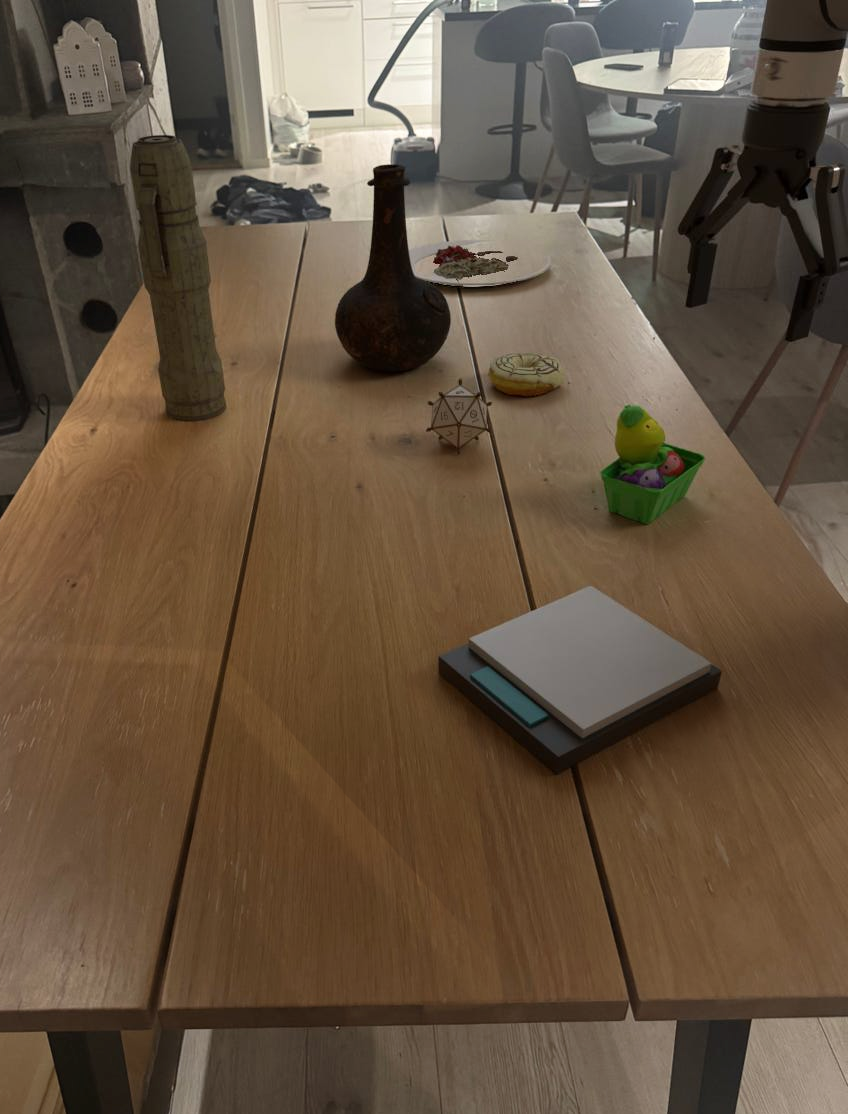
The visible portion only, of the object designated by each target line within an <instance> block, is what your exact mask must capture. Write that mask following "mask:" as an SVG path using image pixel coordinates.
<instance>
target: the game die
mask: <svg viewBox="0 0 848 1114" xmlns="http://www.w3.org/2000/svg"><path fill="white" fill-rule="evenodd" d="M457 383H458V385H457V386H455V387H454V388H452V389H450V390H449V391H448V392H446V393H444V392H443V391H438V396H439V398H438V399H437V400H435V401H434V402H433V401H431V400H429V401H427V405H428V406H432V407H431V422H430V427H426V430H425V432H428V433H429V432H431V431H433V432H434V433H436V434H437V435H438V441H440V440H443V439H444V440H445V441H446V442H448V443H449V444H450V445H452V446H453V447H455V448H456V450H455V453H456V455H457V456H459V455H460V454H461V448H463V447H464V446H465V445H467V444H468V443H470V442H471V441H473V440H475V441H479V440H480V437H479V436H480V435H481V434H483V433H484V432H487V433H488V434H489V433H493V430H492V428H490V427H488V407H492V404H493V401H488V402H487V403H486V402H485V401H484V400H483V399H482V398H481V396H482V392H481V391H478V392H477V393H474V392H473V391H472V390H469V388H467V387H465V386H464V385H463V379H462V378H461V377H459V379H458V382H457Z"/></svg>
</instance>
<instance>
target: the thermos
mask: <svg viewBox="0 0 848 1114" xmlns="http://www.w3.org/2000/svg"><path fill="white" fill-rule="evenodd" d="M129 162H130V163H129V169H130V170H129V171H130V177H131V183H132V190H133V195H134V201H135V202H134V203H135V207H136V210H137V211H138V216H139V219H138V226H139V234H138V241H137V243H138V244H137V249H138V254H139V261H140V267H141V273H142V278H143V285H144V288H145V290H146V291H147V293H148V295H149V300H150V306H151V312H152V316H153V317H152V318H153V323H154V329H155V330H154V331H155V335H156V342H157V347H158V354H159V364H158V369H157V371H158V377H159V383H160V389H161V395H162V397H163V399H164V404H165V413H166V415H167V414H168V415H167V416H168V417H169V416H170V417H169V418H171V417H172V418H171V419H173V418H174V419H173V420H176V419H180V420H179V421H182V420H198V421H203V420H202V419H205V420H208V418H209V419H212V418H215V417H217V416H219V415H221V414H222V413H223V411H224V412H225V410H226V409H227V402H226V399H225V391H226V385H225V377H224V370H223V362H222V359H221V357H220V355H219V352H218V351H217V346H216V337H215V330H214V322H213V314H212V313H213V312H212V306H211V299H210V292H209V289H210V287H211V286H210V285H211V282H212V279H211V271H210V262H209V254H208V246H207V239H206V237H205V235H204V233H203V231H202V228H201V225H200V222H199V221H200V220H199V215H198V214H197V210H196V206H197V197H196V189H195V183H194V175H193V167H192V162H191V159H190V156H189V154H188V151H187V150H186V147H185V145H184V143H183V141H182V139H180V138H176V135H170V134H156V135H155V134H154V135H145V136H142V137H139V138H137V140H136V141H134V142H132V147H131V154H130V161H129ZM225 408H226V409H225Z"/></svg>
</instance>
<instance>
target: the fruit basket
mask: <svg viewBox="0 0 848 1114" xmlns="http://www.w3.org/2000/svg"><path fill="white" fill-rule="evenodd" d="M616 420H617V421H616V433H615V437H614V448H615V451H616V453H617V455H618V458H617V459H616V460H614V461H613V462H611V463H610V464H609V465H607V466H606V467H604V468H603V469H602V470H600V476H601V481H602V482H603V486H604V492H605V498H606V503H607V508H608V511H609V512H611V513H613V514H618V515H620V516H622V517H625V518H628V519H630V520H633V521H637V522H641V523H642V524H644V525H649V524H650V523H652V522H653V521H655V519H656V518H657V517H659V516H661V515H662V514H663V513H665V512H666V511H667V509H670V508H671V507H673V506H674V505H675V504H677V502H678V501H680V500H682V499H683V498H684V497H686V495H687V493H688V491H689V488H690V487H691V485H692V483H693V481H694V479H695V477H696V475H697V473H698V471H699V469H700V468H701V467H702V465H703V464H704V462H705V460H706V456H705V455H703V454H702V453H699V452H695V451H693V450H690V449H689V450H688V449H686V448H683V447H679V446H675V445H672V444H669V443H665V441H666V433H665V431H664V429H663V427H662V426H661V425H660V424H659V422H658V421H657V420H656V419H654V417H652V416H651V415H650V414H649V413H648V411H646V410H645V409H644V408H642V407H641V406H639V405H631V404H627V405H624V409H622V410H621V411H620V413H619V415H618V417H617V419H616Z"/></svg>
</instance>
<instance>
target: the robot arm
mask: <svg viewBox="0 0 848 1114" xmlns="http://www.w3.org/2000/svg"><path fill="white" fill-rule="evenodd" d="M847 39H848V0H766V3H765V9H764V14H763V20H762V26H761V32H760V38H759V45H758V49H757V53H756V54H757V55H756V59H755V60H756V61H755V66H754V70H753V75H752V81H751V86H750V92H749V93H750V94H751V96H752V97H754V98H755V99H754V100H752V101H751V102H750V103H749V104H748V105H747V107H746V110H745V111H746V112H745V117H744V118H745V119H744V123H743V128H742V133H741V142H742V144H743V149H742V150H741V148H740V146H739V145H738V144H731V145H726V146H721V147H718V148H716V149H715V152H714V155H713V158H712V162H711V165H710V166H711V167H710V170H709V172H708V174H706V177H705V179H704V180H703V182H702V184H701V185H700V188H699V189H698V191H697V193H696V195H695V197H694V198H693V200H692V202H691V203H690V205H689V207H688V209H687V210H686V212H685V213H684V216H683V218H682V219H681V221H680V223H679V225H678V226H677V233H678V234H679V235H680V236H685V237H686V238H687V239H688V242H689V244H690V250H689V254H688V261H687V267H686V269H687V270H686V271H687V274H690V275H689V282H688V288H687V293H686V299H685V306H684V307H686V308H689V309H692V308H693V309H694V308H696V307H699V306H703V305H706V304H708V299H709V295H710V290H711V289H710V288H711V284H712V279H713V271H714V267H715V261H716V255H717V250H718V243H715V242H711V241H715V240H716V239H717V237H716V236H717V235H718V233H720V232H721V231H722V230H723V229H724V228H725V226H727V224H729V222H730V221H732V219H733V218H735V216H737V214H738V213H739V212H740V211H741V210H743V208H744V207H745V206H746V205H747V203H749V204H754V205H756V204H763V205H764V206H766V207H768V208H772V209H778V208H779V211H780V213H781V215H782V216H783V217H785V218H786V219H787V222H788V225H789V227H790V229H791V232H792V235H793V237H794V240H795V243H796V245H797V248H798V250H799V253H800V255H801V258H802V260H803V264H804V266H805V269H806V271H807V273H805V274H802V275H799V278H798V283H797V287H796V291H795V295H794V300H793V303H792V308H791V311H790V316H789V321H788V325H787V329H786V333H785V337H784V341H786V342H789V343H792V342H796V341H799V340H802V339H805V338H808V337H809V335H810V331H811V326H812V322H813V318H814V314H815V310H818V309H821V307H822V306H823V304H824V301H825V297H826V293H827V289H828V286H829V281H830V279H831V277H833V276H837V275H838V274H843V273H846V272H848V219H847V214H846V207H845V200H844V194H843V187H844V180H845V174H846V166H845V165H844V164H843V163H841V162H840V163H835V164H830V165H818V162H817V154H818V151H819V149H820V147H821V145H822V143H823V142H824V138H825V133H826V130H827V126H828V125H827V124H828V120H829V117H830V113H831V107H830V104H829V103H828V102H826V100H828V99H829V98H831V97H832V96H834V94H835V92H836V88H837V83H838V78H839V73H840V70H841V65H842V60H843V56H844V51H845V47H846V43H847ZM736 170H737V171H738V173H739V177H740V178H739V180H737V181H736V183H734V185H733V186H732V187H731V188H730V189H729V190H728V191H727V193H726V194H727V195H726V196H724V199H723V200H721V202H719V204H718V205H717V206H716V207H715V205H716V204H717V202H718V201H719V199H720V197H721V196H722V194H723V192H724V191H725V189H726V188H727V186H728V184H729V182H730V180H732V177H733V175H734V173H735V171H736ZM811 182H812V183H811ZM809 184H811V188H812V189H814V196H815V197H814V198H813V195H812V193H811V189H810V188H809ZM795 200H796V201H795ZM814 200H815V201H814ZM814 203H815V208H816V213H815V209H814V207H813V206H814ZM816 214H817V215H816Z"/></svg>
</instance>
